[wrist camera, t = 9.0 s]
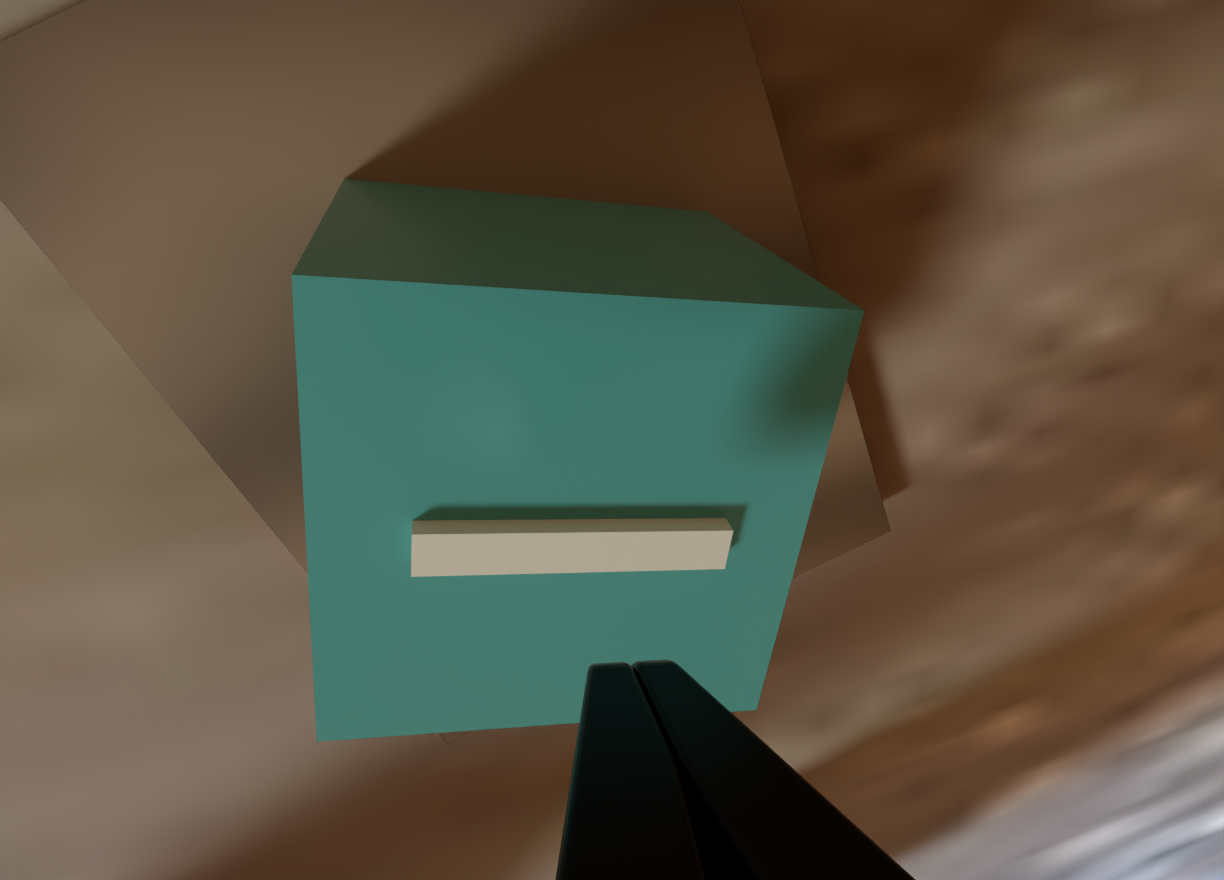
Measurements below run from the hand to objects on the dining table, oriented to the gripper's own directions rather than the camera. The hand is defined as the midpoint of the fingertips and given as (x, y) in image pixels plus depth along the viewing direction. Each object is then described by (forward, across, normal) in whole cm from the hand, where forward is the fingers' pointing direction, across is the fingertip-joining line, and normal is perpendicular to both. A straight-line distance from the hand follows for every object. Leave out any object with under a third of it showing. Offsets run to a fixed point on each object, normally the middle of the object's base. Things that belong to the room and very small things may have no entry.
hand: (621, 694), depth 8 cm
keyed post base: (+10, 0, 0) cm, 10 cm away
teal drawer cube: (+9, 0, 0) cm, 9 cm away
